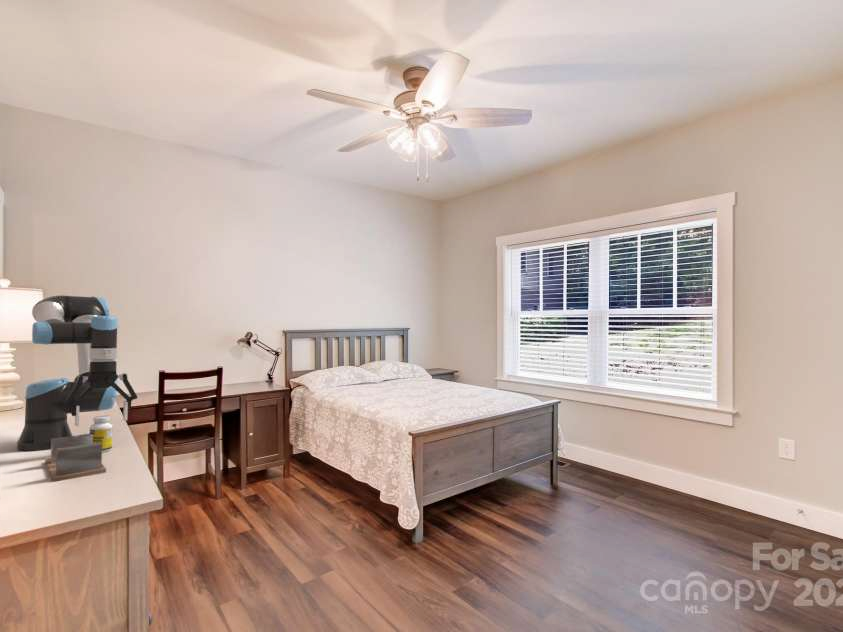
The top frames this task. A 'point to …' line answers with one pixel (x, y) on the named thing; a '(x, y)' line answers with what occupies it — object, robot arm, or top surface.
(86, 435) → the sliding jaw
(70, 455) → the vise bed
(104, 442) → the pill bottle
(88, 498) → the top surface
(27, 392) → the robot arm
